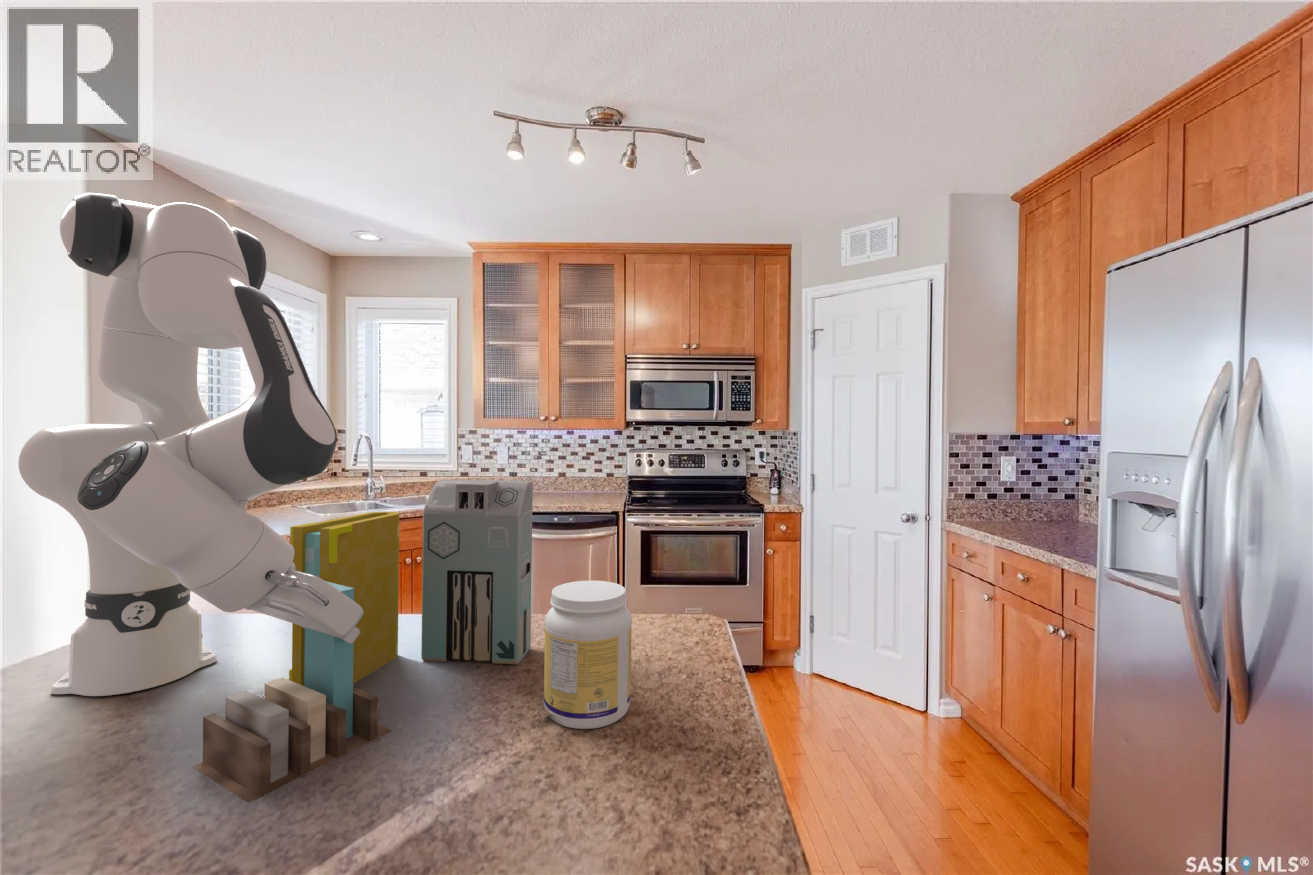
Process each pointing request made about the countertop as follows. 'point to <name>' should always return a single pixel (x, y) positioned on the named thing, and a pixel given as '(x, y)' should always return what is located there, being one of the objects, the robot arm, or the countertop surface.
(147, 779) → the countertop surface
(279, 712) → the offcut front
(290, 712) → the block
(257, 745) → the rack
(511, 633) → the device
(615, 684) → the supplement tub
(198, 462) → the robot arm
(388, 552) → the book
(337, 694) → the tall sheet
